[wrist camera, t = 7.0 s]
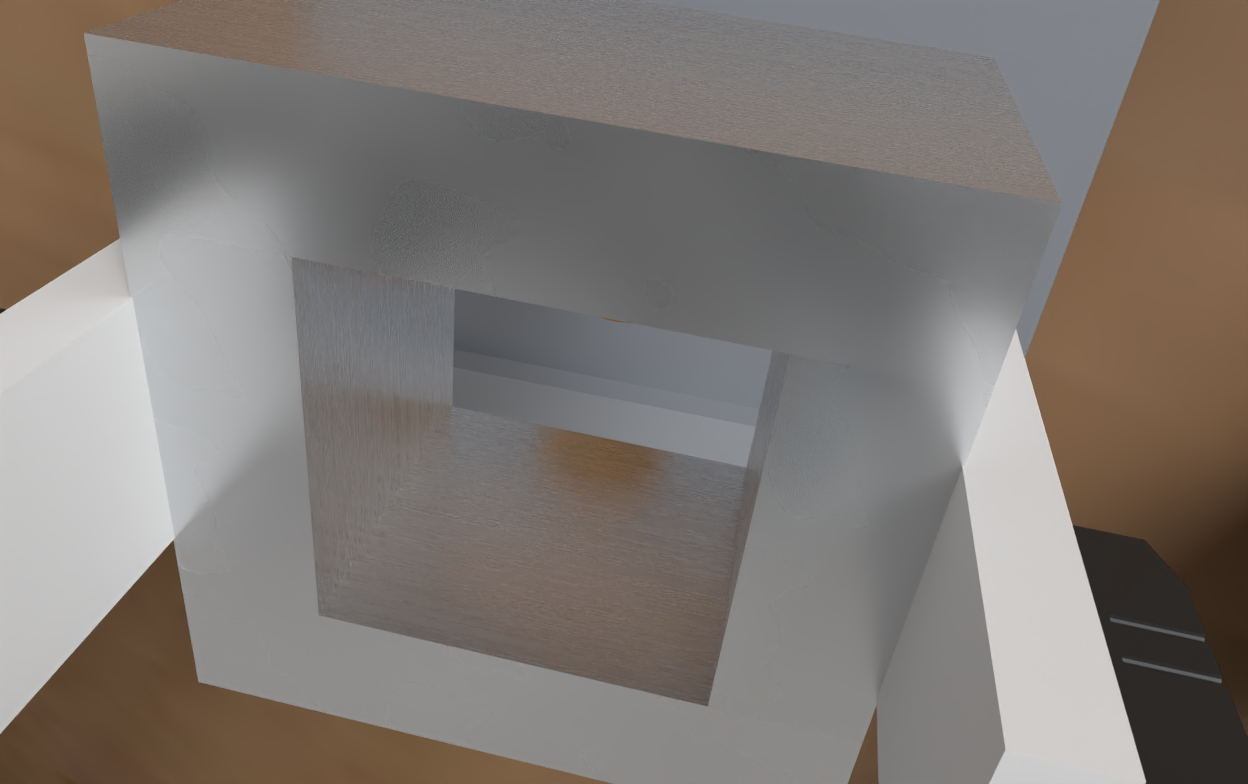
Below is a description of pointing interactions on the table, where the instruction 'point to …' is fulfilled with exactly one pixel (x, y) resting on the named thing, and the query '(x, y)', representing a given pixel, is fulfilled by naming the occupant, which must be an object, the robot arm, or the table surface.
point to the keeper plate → (736, 374)
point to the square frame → (579, 282)
